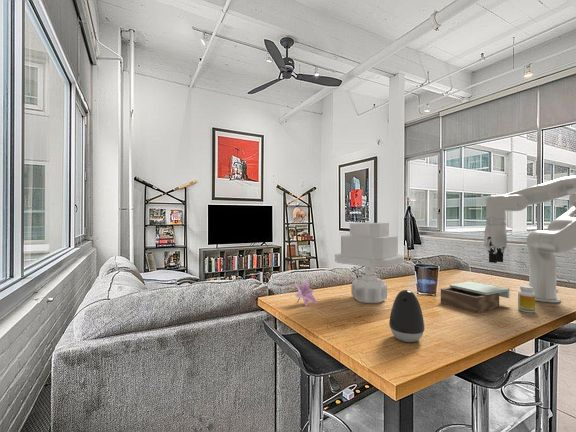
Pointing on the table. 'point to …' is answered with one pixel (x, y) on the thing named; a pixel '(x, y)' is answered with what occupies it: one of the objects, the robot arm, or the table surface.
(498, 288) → the lid
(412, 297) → the dark egg-shaped diffuser
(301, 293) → the lily
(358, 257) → the tiered cake on stand
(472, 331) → the table surface
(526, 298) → the supplement bottle
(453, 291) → the walnut box
